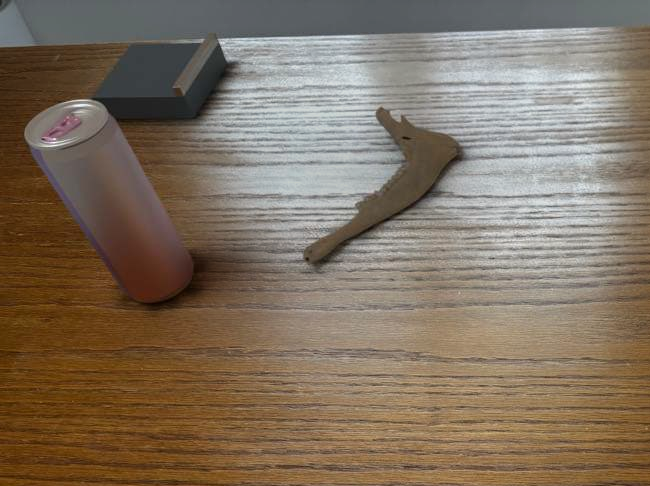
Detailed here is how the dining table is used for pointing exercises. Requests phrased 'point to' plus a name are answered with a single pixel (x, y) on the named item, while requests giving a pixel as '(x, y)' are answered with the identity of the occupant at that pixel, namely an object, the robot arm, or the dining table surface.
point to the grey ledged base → (162, 80)
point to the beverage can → (110, 198)
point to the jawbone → (395, 180)
